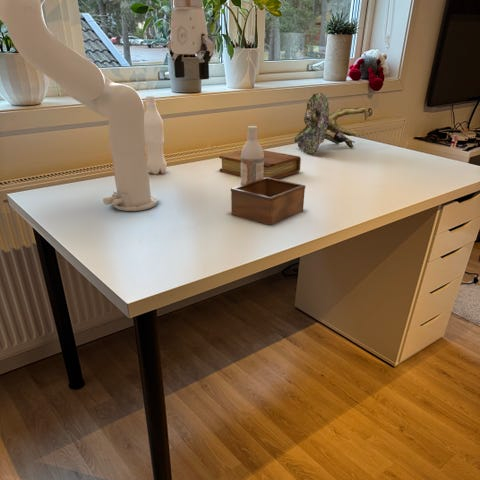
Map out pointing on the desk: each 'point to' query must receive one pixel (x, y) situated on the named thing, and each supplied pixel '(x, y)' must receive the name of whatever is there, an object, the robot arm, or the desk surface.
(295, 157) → the diary
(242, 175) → the bath foam
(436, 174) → the desk surface
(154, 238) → the desk surface
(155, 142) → the water bottle
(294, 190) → the open wooden box
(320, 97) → the tree stump
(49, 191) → the desk surface
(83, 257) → the desk surface
